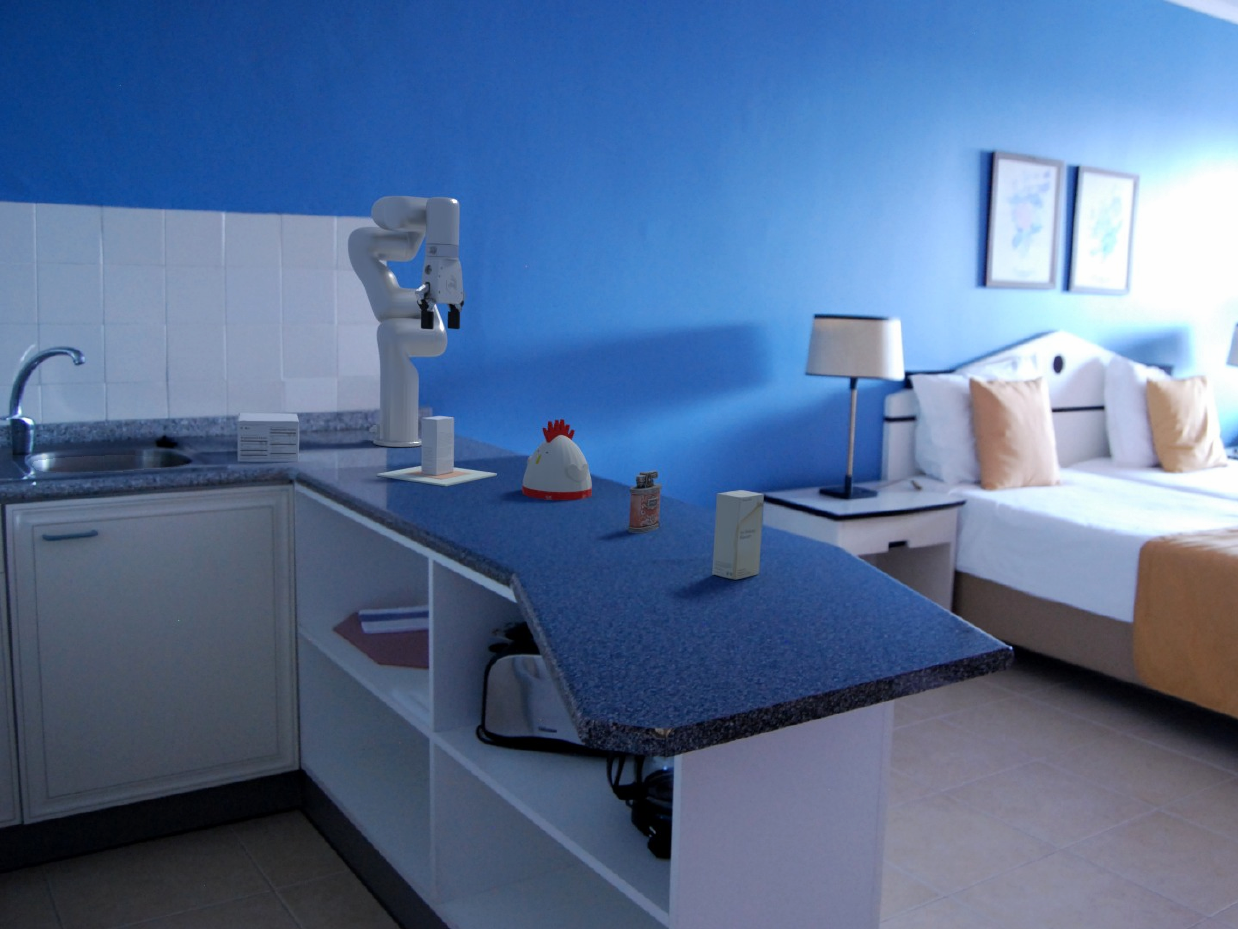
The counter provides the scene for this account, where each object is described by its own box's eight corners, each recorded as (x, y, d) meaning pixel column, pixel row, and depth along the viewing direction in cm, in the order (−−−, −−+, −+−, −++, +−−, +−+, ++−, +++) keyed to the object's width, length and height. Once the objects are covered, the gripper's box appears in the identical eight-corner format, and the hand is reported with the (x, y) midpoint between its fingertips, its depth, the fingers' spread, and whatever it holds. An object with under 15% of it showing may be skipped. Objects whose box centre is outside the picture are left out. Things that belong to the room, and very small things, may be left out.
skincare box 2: (735, 581, 154) (740, 497, 152) (710, 574, 156) (715, 493, 155) (760, 574, 158) (765, 493, 156) (735, 568, 161) (741, 488, 159)
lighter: (640, 534, 181) (643, 475, 180) (623, 531, 183) (626, 473, 182) (663, 526, 188) (666, 470, 187) (647, 523, 190) (650, 468, 188)
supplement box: (299, 462, 239) (299, 421, 237) (237, 463, 234) (236, 420, 233) (297, 451, 254) (297, 412, 253) (238, 451, 250) (238, 411, 249)
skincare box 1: (438, 470, 232) (439, 415, 231) (454, 472, 230) (455, 417, 229) (420, 473, 227) (420, 417, 225) (435, 476, 225) (436, 419, 223)
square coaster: (376, 475, 225) (376, 473, 225) (430, 465, 241) (430, 463, 241) (445, 486, 217) (445, 483, 217) (496, 475, 232) (496, 473, 232)
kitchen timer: (508, 491, 214) (510, 417, 212) (557, 485, 224) (560, 414, 222) (556, 503, 205) (558, 425, 203) (605, 495, 215) (608, 421, 213)
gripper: (431, 251, 234) (429, 330, 237) (478, 255, 249) (476, 329, 252) (404, 250, 238) (403, 328, 241) (452, 254, 253) (450, 327, 256)
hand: (440, 328), depth 246 cm, fingers open, 9 cm apart
